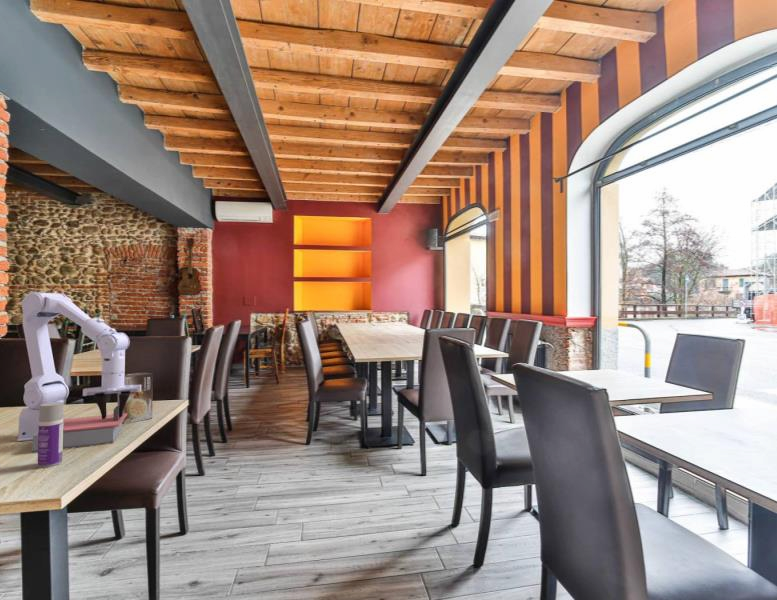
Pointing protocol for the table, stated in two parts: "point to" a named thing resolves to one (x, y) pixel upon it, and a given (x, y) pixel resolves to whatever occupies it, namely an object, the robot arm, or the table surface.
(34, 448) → the carton
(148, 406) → the coffee box
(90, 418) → the lid
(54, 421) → the container
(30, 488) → the table surface
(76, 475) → the table surface
